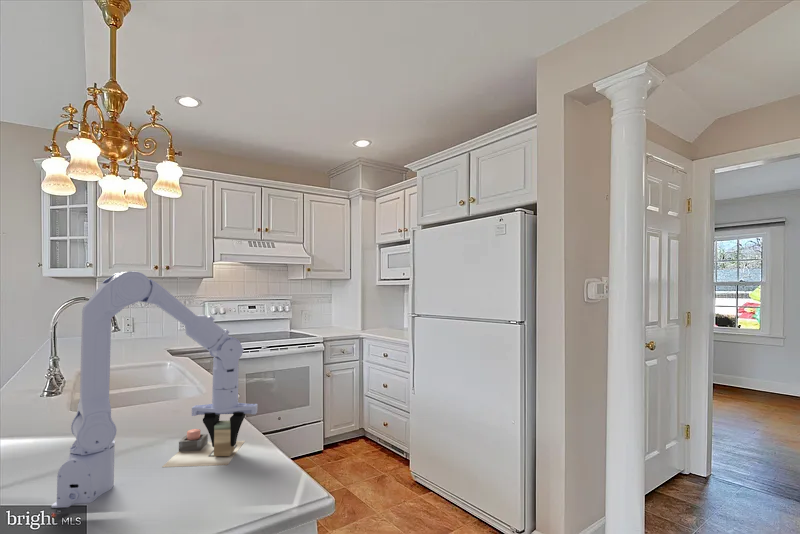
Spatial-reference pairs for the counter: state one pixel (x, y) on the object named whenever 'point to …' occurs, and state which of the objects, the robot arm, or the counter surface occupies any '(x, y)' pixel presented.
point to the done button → (193, 434)
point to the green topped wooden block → (222, 439)
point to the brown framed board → (199, 453)
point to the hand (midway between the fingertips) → (224, 445)
